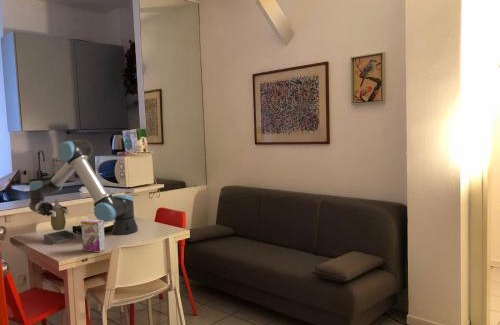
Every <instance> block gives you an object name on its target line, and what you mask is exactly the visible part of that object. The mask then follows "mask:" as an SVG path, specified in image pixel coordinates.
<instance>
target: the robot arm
mask: <svg viewBox="0 0 500 325" xmlns="http://www.w3.org/2000/svg"><path fill="white" fill-rule="evenodd" d="M93 151H94V149H93V145H92V144H91V142H89V141H87V140H85V139H77V140H76V139H74V140H68V141H67V140H66V141H63V142H62V143H60V144H59V146H58V149H57V155H58V159H59V160H60V161H62V162H65V163H64V164H63V165H62V167H61V168H60V169H59V170H58V171H57V172H56V173H55V175H53V177H51V179H50V180H49V181H47V182H43V180H35V181H33V180H32V181H30V182H29V189H28V190H29V196H30V202H29V203H28V208H29V209H30V210H31V211H32V212H34V213H37V215H38V214H39V215H41V216H44V217H45V216H46V217H51V216H54V217H56V212H54V211H51V210H52V209H53V204H52V203H51V202H48V201H45V195H49V194H53V193H57V192H60V191H61V190H62V189H63V184H64V183H65V182H66V181H67V180H68V179H69V178H70V177H71V176H72V175H73V174H74V173H75V172H76V174H77V176H78V177H79V179H80V181H81V182H82V183H83V185H84V187H85V188H86V190H87V192H88V193H89V195H90V197H91V198H92V200H93V207H94V208H93V214H94V216H95V218H96V220H103V222H104V223H108V222H113V221H114V223H113V227H112V234H113V235H116V236H117V235H121V236H123V235H131V234H134V233H136V232H138V231H139V226H138V225H137V222H136V219H135V209H134V208H135V207H134V198H133V196H132V195H130V194H115V195H113V194H112V193H108V191H107V190H106V189H105V187H104V185H103V184H102V182H101V181H100V178H99V177H98V175H97V174H96V173H95V171H94V169H93V167H92V165H91V164H90V163H89V161H88V160H89V159H90V158H91V156H92V155H93ZM61 208H62V209H63V210H64V215H69V209H68V207H67V206H62V205H61Z"/></svg>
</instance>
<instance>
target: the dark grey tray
mask: <svg viewBox="0 0 500 325" xmlns="http://www.w3.org/2000/svg"><path fill="white" fill-rule="evenodd" d="M76 236H77V234H76V233H75V232H72V231H70V230H67V229H62V230H57V231H54V232H50V233H46V234H43V241H44V242H46V243H48V242H49V244H51V243H52V244H51V245H53V244H55V245H57V244H58V243H59V244H62V242H63V243H66V241H67V242H70V241H71V242H72V241H74V240H77V237H76Z"/></svg>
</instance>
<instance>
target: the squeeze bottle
mask: <svg viewBox="0 0 500 325" xmlns="http://www.w3.org/2000/svg"><path fill="white" fill-rule="evenodd" d="M52 205H53V204H52ZM61 206H62V205H61V204H60V203H59V200H58V198H55V200H54V205H53V209H52V210H51V211H54V212H56V217H54V216H51V215H50V225H51V229H52V230H53V231H63V230H65V227H66V223H67V221H66V216H65V215H66V214H65V213H64V210H63V209H62V208H61Z"/></svg>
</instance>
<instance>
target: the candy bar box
mask: <svg viewBox="0 0 500 325" xmlns="http://www.w3.org/2000/svg"><path fill="white" fill-rule="evenodd" d="M104 223H105V222H103V220H98V219H84V220H81V221H80V226H81V228H80V229H81V238H82V239H81V240H82V241H81V242H82V251H83V250H91V251H102V250H104V251H105V249H106V240H105V239H106V237H105V225H104ZM102 252H103V251H102Z"/></svg>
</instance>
